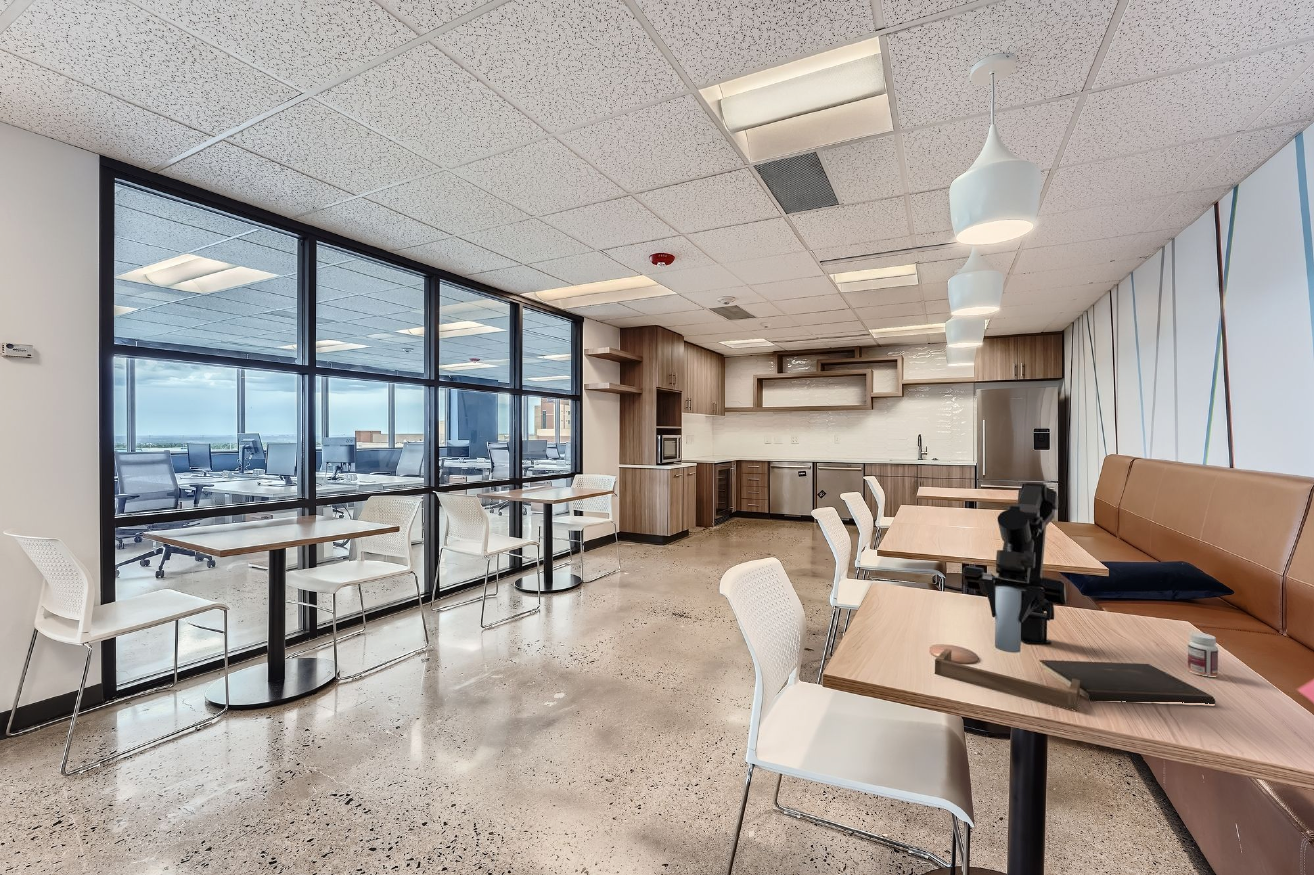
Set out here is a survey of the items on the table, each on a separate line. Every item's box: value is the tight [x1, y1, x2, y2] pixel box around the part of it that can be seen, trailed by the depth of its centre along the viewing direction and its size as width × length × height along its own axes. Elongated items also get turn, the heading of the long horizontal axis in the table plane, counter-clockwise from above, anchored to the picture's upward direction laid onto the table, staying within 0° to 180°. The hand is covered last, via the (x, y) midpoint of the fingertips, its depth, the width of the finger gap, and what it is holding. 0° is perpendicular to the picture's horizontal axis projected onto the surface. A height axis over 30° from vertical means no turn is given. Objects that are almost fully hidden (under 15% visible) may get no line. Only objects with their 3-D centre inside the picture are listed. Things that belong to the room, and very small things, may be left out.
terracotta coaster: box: [928, 643, 979, 665], centre depth 131 cm, size 10×10×1 cm
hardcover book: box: [1039, 659, 1216, 705], centre depth 116 cm, size 16×23×2 cm
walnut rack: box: [934, 649, 1081, 711], centre depth 116 cm, size 9×24×3 cm, turn 49°
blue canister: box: [994, 586, 1022, 654], centre depth 118 cm, size 5×5×12 cm
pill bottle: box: [1187, 632, 1219, 677], centre depth 123 cm, size 5×5×8 cm
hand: (1006, 618), depth 117 cm, fingers closed on blue canister, 5 cm apart
